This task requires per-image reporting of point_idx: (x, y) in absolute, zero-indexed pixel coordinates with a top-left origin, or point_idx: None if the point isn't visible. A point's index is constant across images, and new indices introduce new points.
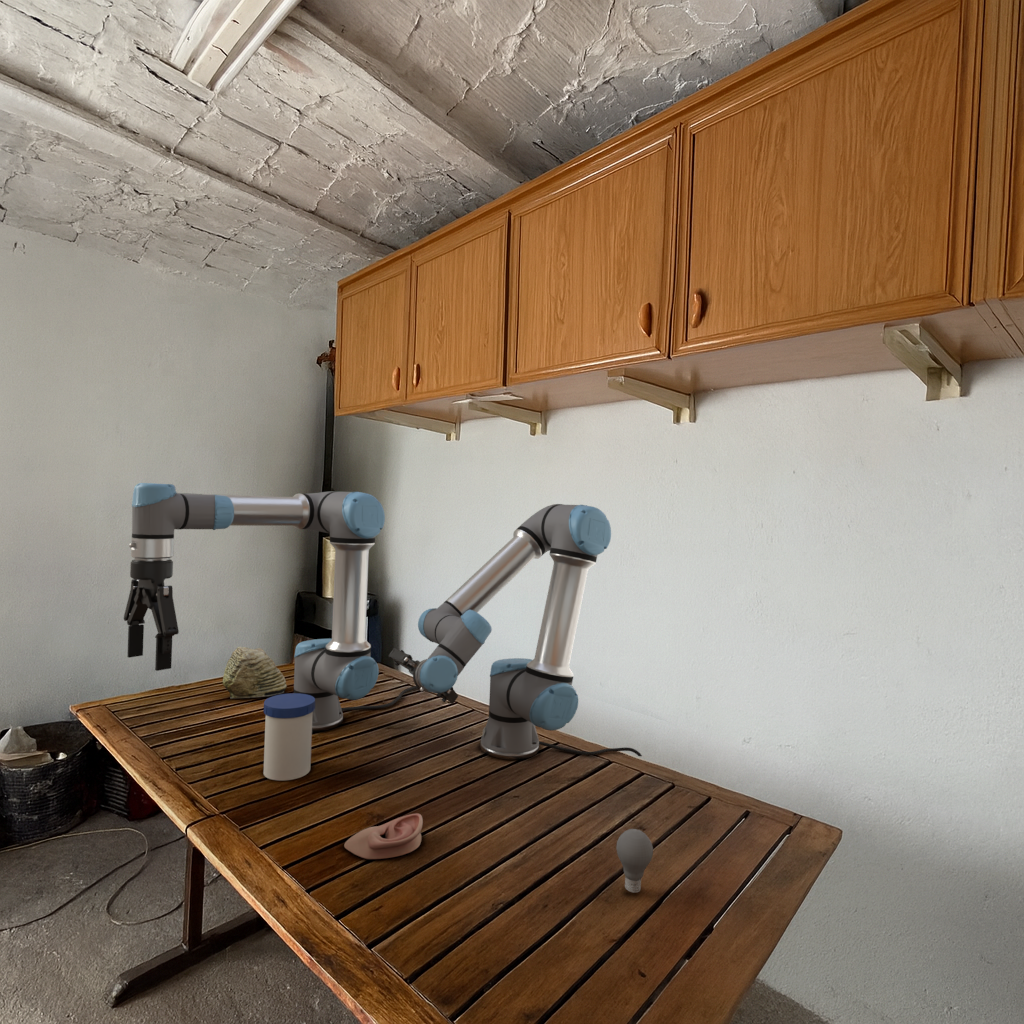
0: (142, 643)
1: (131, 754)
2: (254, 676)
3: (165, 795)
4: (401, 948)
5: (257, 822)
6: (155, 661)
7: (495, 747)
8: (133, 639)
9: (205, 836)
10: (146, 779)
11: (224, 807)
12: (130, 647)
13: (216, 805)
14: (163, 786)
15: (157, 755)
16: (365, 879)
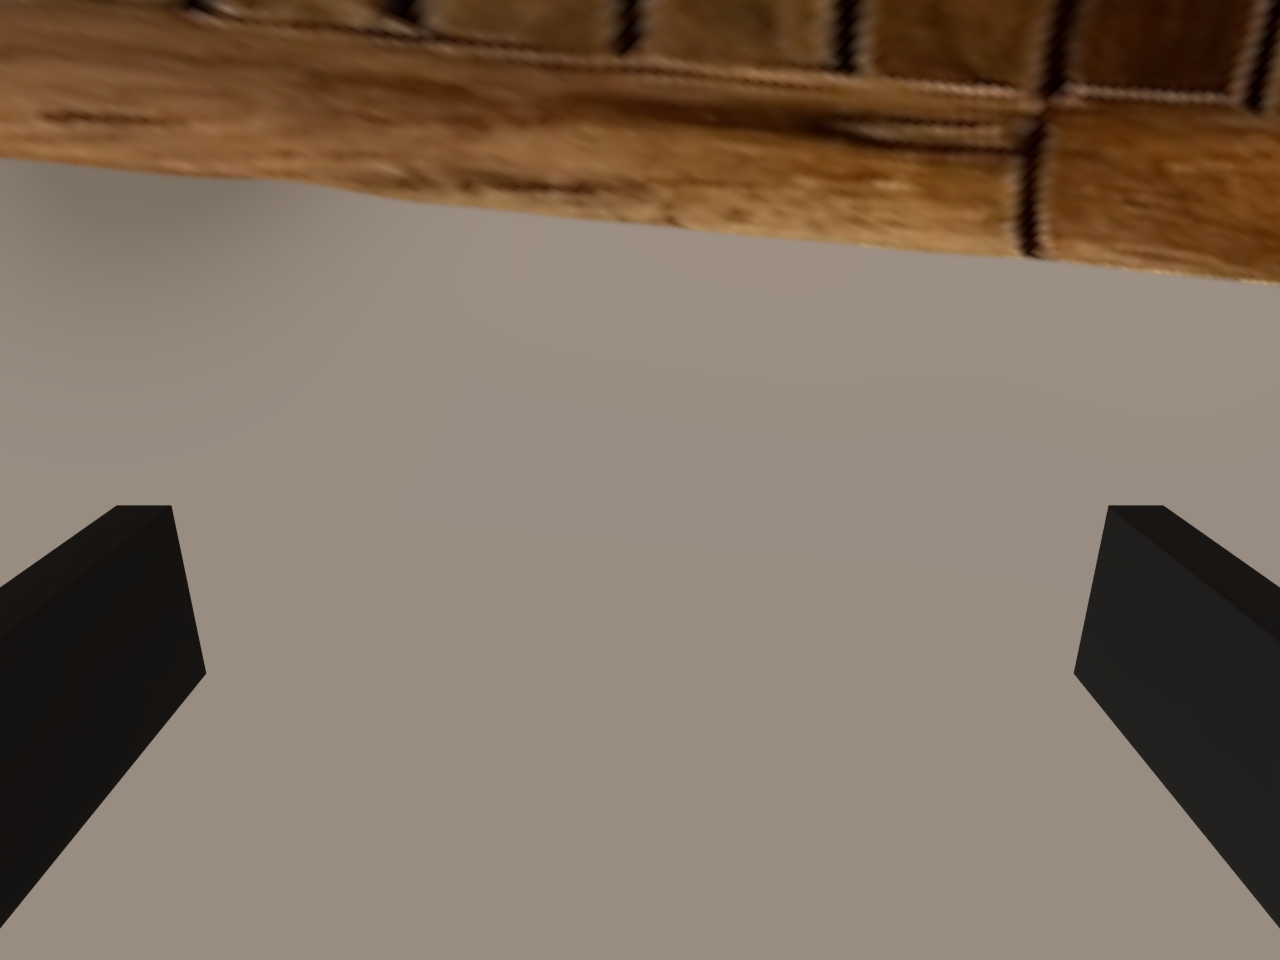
0: (53, 606)
1: (32, 116)
2: None
3: (677, 202)
4: None
5: (1273, 12)
6: (1137, 748)
7: None
8: (37, 810)
9: (1169, 247)
10: (432, 193)
11: (1012, 52)
12: (122, 749)
13: (962, 71)
14: (571, 166)
15: (128, 10)
16: None
